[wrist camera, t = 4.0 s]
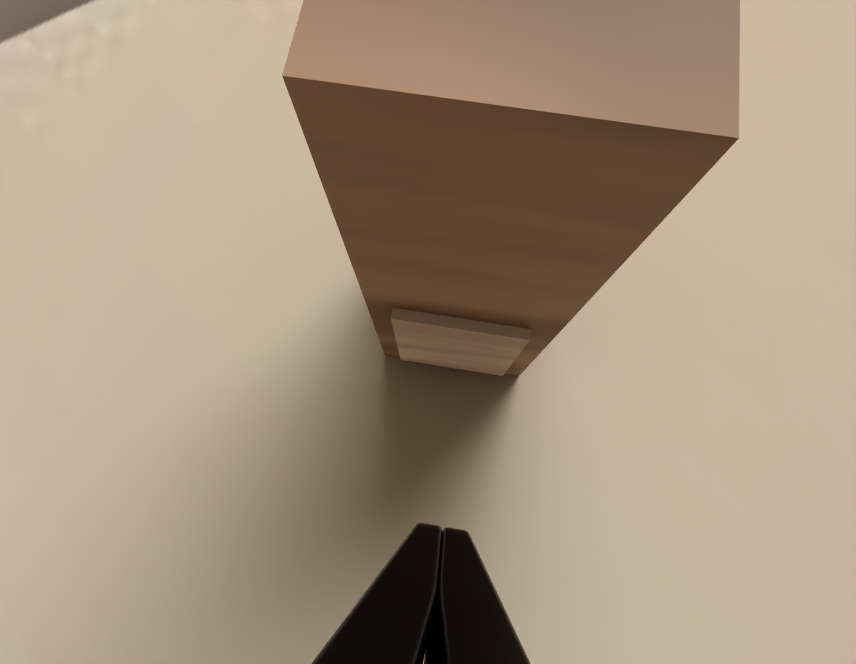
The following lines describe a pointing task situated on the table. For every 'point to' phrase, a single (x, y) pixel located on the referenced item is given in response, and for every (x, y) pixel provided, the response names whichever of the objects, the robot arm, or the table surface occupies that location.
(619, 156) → the walnut block
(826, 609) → the table surface
